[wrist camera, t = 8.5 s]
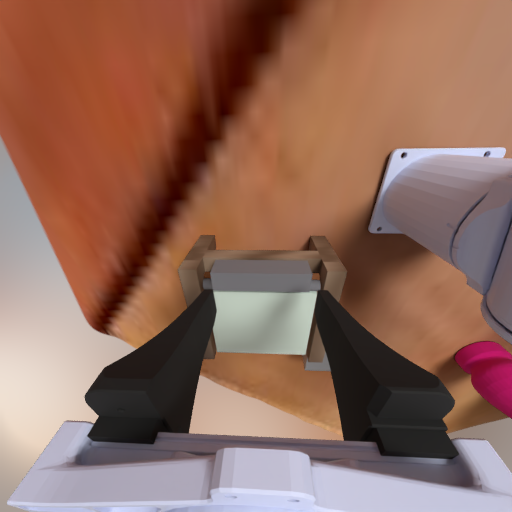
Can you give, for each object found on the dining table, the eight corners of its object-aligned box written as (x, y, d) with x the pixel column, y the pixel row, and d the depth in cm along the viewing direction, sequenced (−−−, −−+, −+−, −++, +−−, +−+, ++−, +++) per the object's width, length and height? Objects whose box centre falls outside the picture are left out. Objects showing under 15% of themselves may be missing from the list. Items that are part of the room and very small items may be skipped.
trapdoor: (321, 260, 17) (328, 274, 15) (305, 346, 23) (308, 363, 21) (202, 259, 17) (195, 272, 15) (217, 344, 23) (213, 360, 21)
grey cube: (333, 324, 29) (343, 352, 25) (327, 343, 32) (336, 371, 28) (303, 323, 30) (308, 351, 26) (300, 342, 32) (304, 370, 28)
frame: (324, 236, 22) (347, 271, 16) (310, 315, 28) (322, 362, 22) (200, 235, 23) (177, 269, 17) (214, 313, 29) (200, 358, 23)
